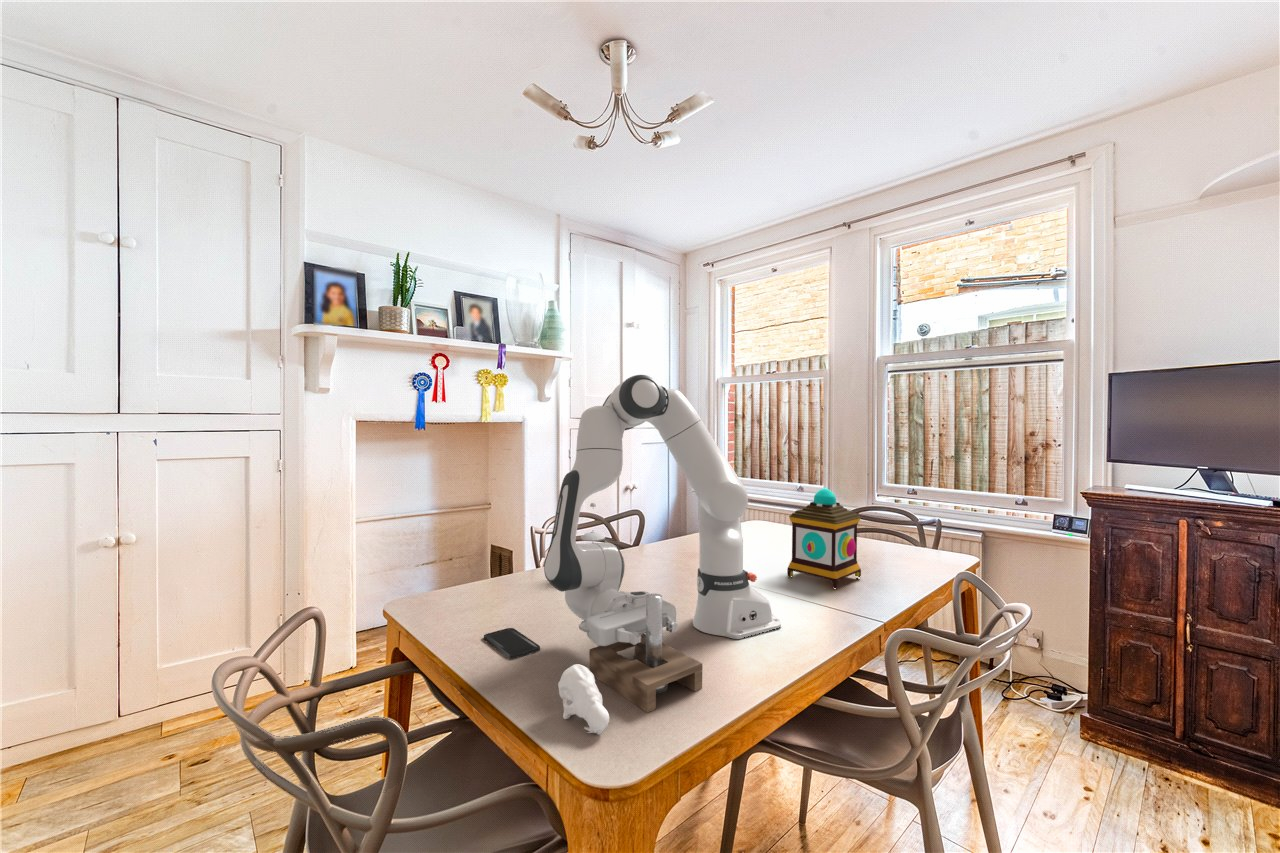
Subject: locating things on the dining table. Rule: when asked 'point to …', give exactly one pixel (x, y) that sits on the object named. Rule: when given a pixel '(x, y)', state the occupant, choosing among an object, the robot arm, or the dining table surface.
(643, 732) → the dining table surface
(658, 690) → the steel peg
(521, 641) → the phone
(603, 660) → the keyhole board
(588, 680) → the white lumpy figurine
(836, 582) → the decorative lantern
